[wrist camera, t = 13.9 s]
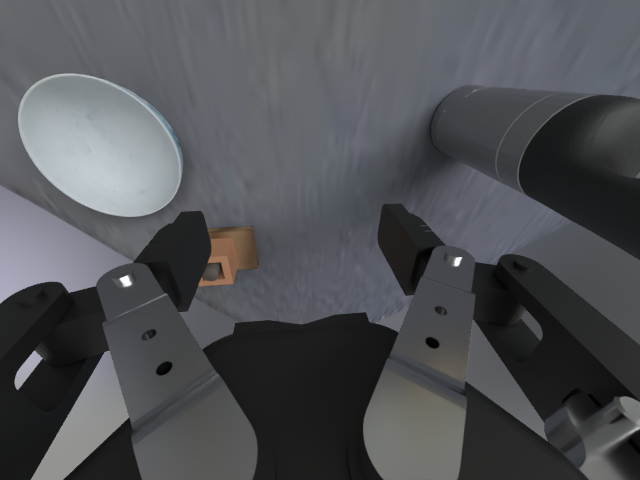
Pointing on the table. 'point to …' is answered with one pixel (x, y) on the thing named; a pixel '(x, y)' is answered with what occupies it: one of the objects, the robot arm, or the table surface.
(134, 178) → the chinaware
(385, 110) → the table surface
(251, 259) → the shaft block
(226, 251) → the orange hollow square block
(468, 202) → the table surface
